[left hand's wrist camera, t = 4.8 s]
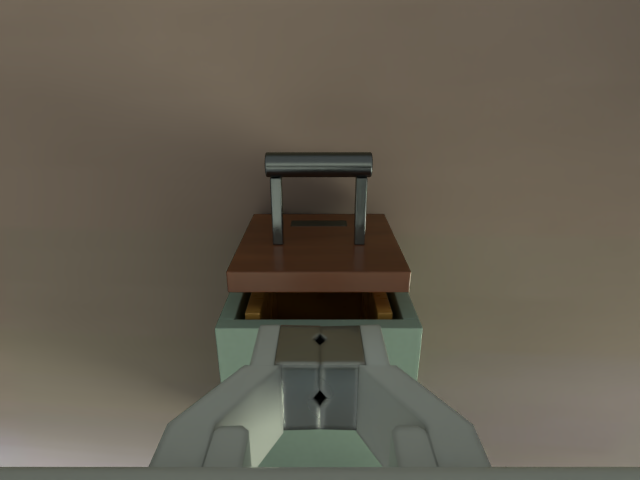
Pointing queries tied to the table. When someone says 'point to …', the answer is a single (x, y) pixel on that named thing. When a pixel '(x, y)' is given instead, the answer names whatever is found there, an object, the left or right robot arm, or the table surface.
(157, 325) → the table surface
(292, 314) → the drawer
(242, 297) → the green drawer cabinet
